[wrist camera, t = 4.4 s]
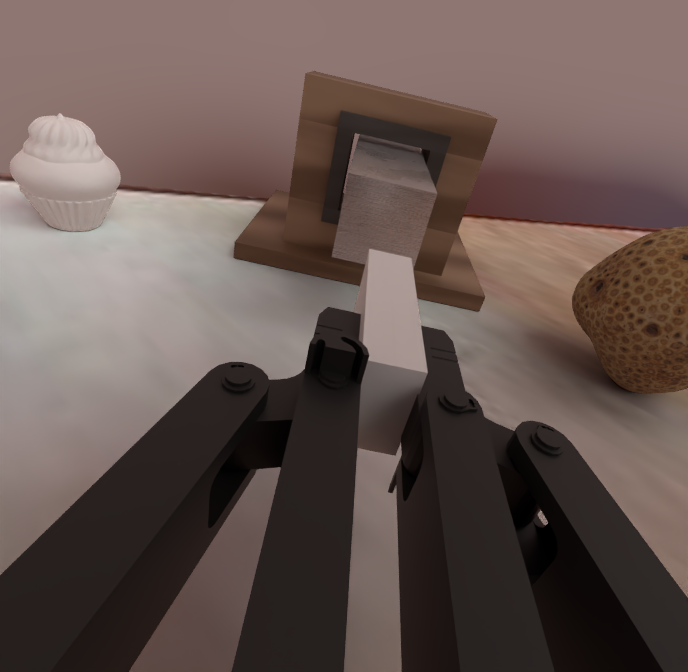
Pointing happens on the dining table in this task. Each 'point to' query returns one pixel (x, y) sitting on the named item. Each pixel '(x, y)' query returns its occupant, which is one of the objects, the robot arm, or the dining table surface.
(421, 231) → the steel peg
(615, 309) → the natural sponge
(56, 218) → the muffin
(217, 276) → the dining table surface
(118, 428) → the dining table surface
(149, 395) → the dining table surface
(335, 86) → the wooden square hole stand
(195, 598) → the dining table surface
